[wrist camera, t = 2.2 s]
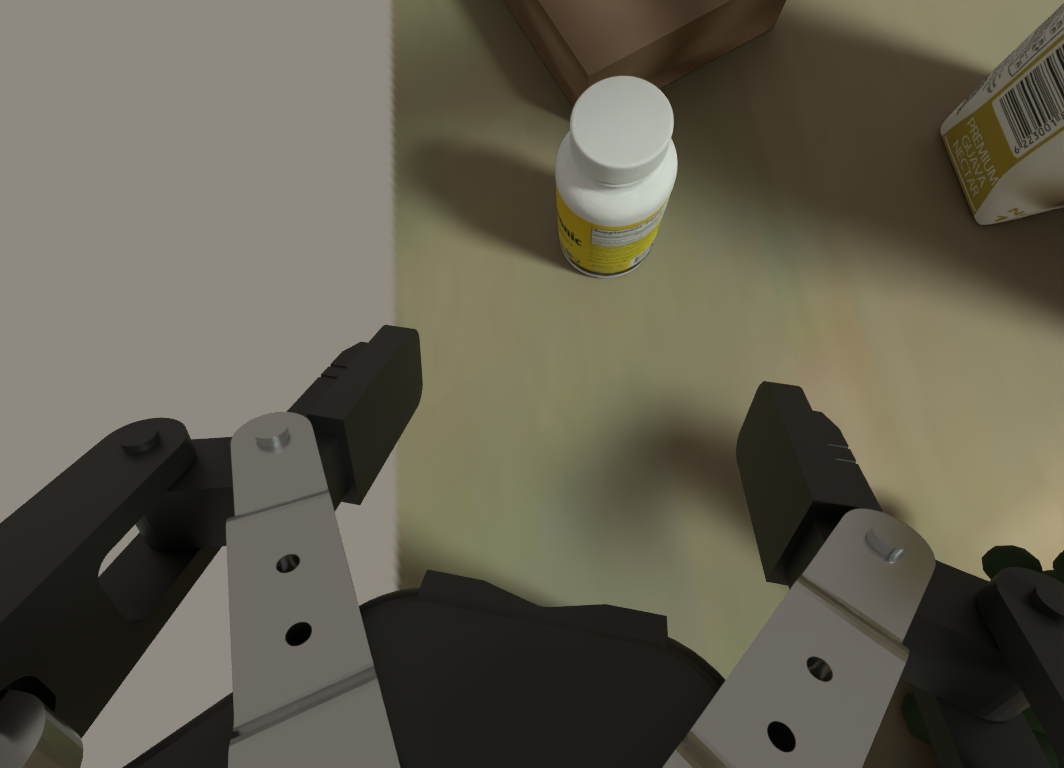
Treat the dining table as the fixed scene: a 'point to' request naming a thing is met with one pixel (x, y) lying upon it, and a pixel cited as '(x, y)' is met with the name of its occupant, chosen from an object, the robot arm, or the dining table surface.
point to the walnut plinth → (636, 36)
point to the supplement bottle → (614, 175)
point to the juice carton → (1014, 131)
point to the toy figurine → (992, 566)
